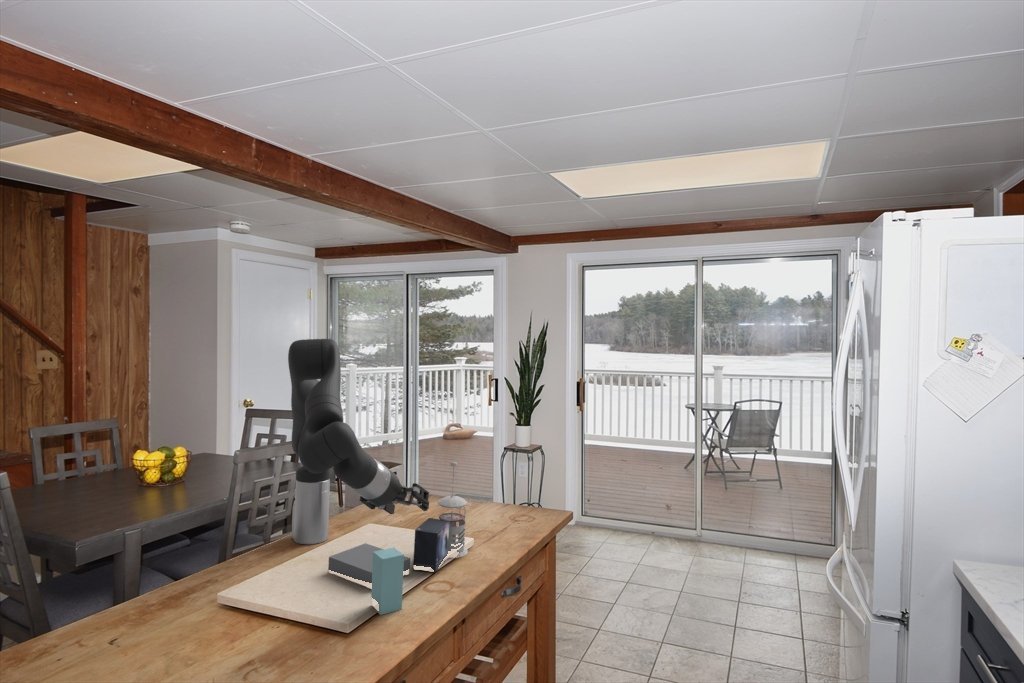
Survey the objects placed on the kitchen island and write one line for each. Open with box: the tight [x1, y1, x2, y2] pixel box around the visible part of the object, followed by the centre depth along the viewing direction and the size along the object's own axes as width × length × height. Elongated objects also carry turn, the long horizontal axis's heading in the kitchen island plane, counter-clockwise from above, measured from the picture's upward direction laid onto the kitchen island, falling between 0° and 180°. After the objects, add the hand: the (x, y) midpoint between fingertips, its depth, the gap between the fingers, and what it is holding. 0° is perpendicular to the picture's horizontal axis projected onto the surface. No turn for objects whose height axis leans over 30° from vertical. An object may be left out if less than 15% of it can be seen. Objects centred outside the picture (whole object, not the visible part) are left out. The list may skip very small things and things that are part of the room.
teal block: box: [370, 547, 405, 616], centre depth 130 cm, size 5×5×12 cm
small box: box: [412, 517, 450, 574], centre depth 155 cm, size 11×6×10 cm, turn 168°
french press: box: [437, 461, 469, 559], centre depth 165 cm, size 10×12×25 cm
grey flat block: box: [327, 542, 411, 583], centre depth 147 cm, size 16×12×4 cm
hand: (409, 508), depth 135 cm, fingers open, 8 cm apart
